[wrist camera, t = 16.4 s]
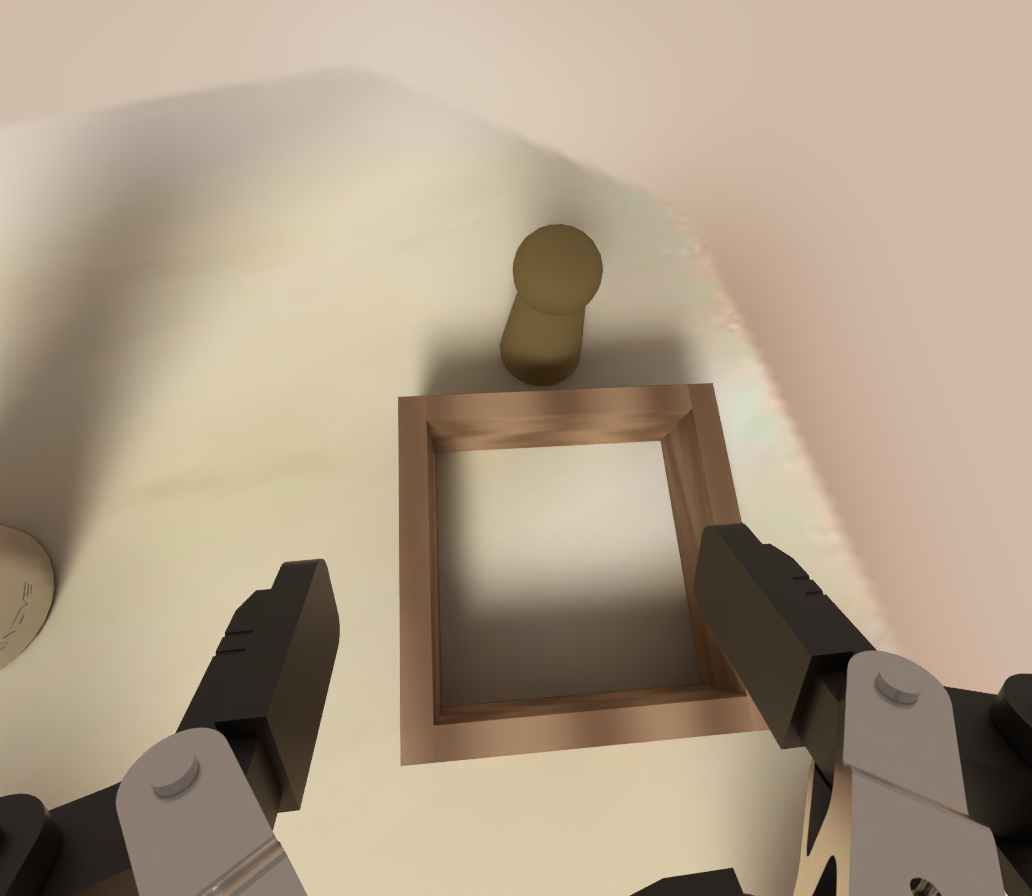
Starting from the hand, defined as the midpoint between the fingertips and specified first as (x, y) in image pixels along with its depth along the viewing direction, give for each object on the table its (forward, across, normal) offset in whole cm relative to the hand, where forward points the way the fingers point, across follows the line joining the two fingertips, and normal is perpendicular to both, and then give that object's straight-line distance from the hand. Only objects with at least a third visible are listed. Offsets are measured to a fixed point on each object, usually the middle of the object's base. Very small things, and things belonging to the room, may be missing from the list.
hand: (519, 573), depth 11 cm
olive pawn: (+30, -5, +4) cm, 30 cm away
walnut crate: (+18, -5, +15) cm, 24 cm away
